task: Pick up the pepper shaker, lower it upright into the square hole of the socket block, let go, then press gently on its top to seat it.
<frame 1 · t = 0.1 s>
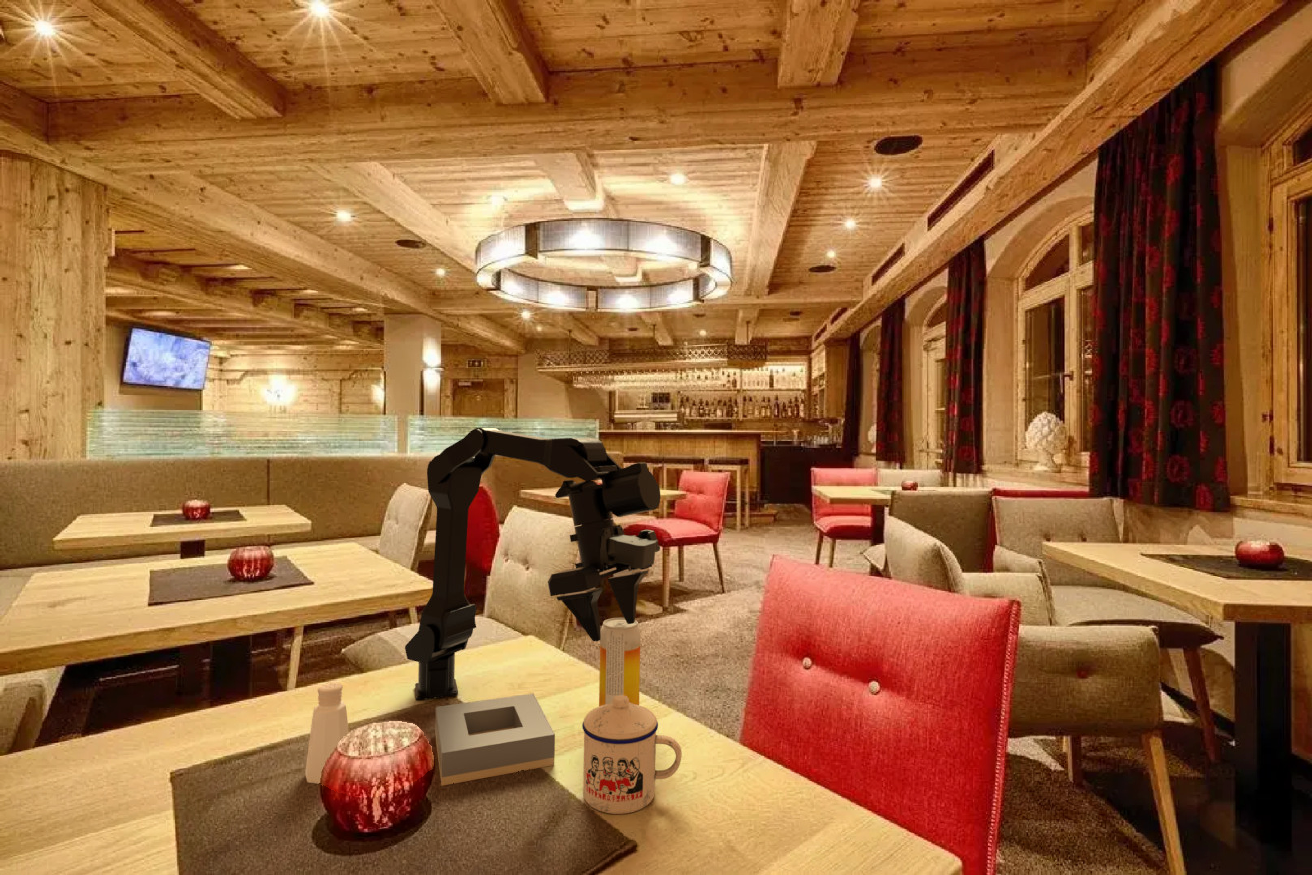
hand: (614, 631, 89), 15 cm above the table, tool pointing down, fingers open, 9 cm apart
pepper shaker: (328, 774, 79), on the table
beer can: (618, 722, 95), on the table
socket block: (492, 749, 86), on the table
teacup with lid: (630, 796, 75), on the table
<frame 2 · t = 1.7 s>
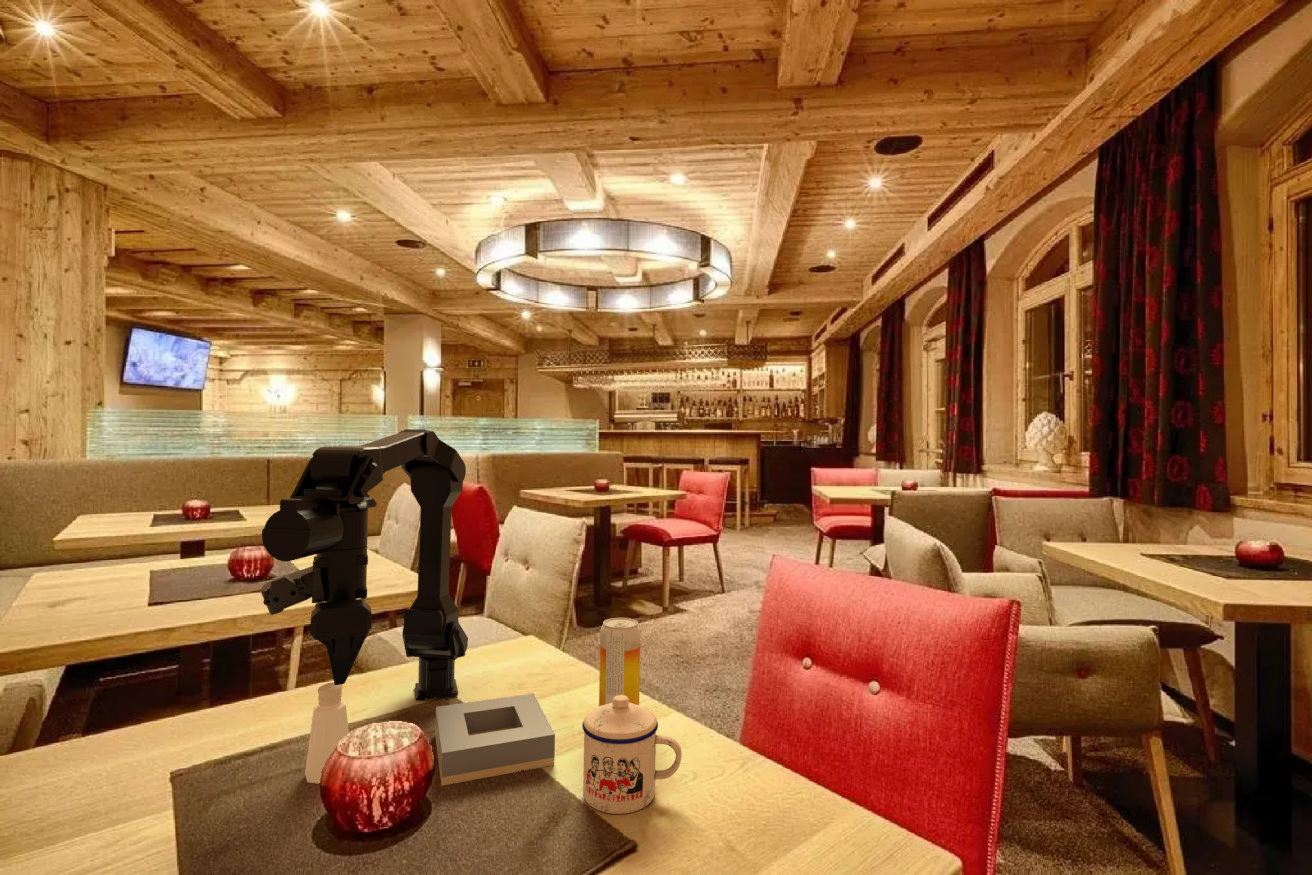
hand: (339, 671, 78), 13 cm above the table, tool pointing down, fingers open, 9 cm apart
nothing on the table moved.
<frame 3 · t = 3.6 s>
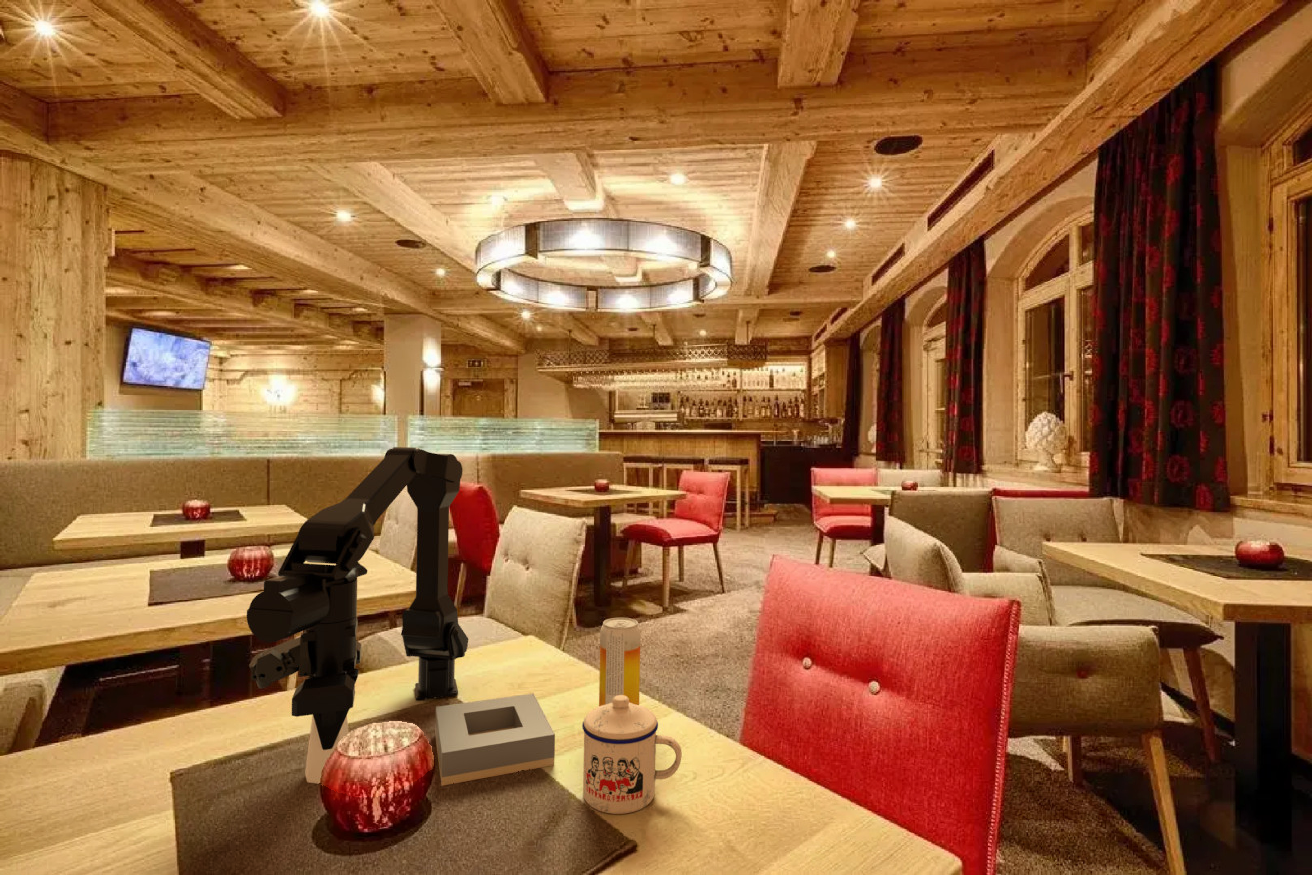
hand: (329, 741, 79), 4 cm above the table, tool pointing down, fingers closed on pepper shaker, 4 cm apart
pepper shaker: (328, 774, 79), on the table, touching gripper
everything else where it was.
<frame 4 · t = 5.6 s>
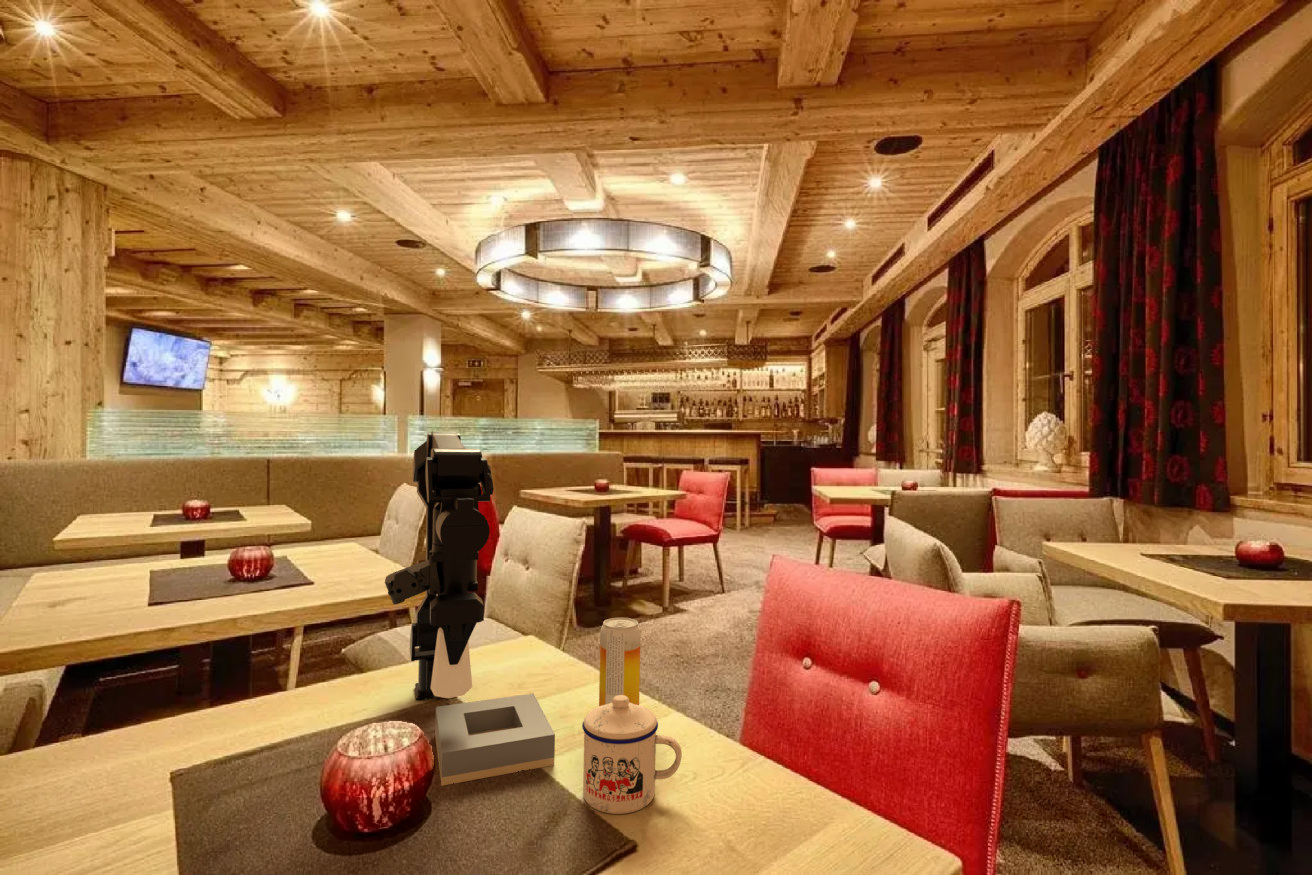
hand: (452, 658, 84), 13 cm above the table, tool pointing down, fingers closed on pepper shaker, 4 cm apart
pepper shaker: (451, 690, 84), point 9 cm above the table, touching gripper
everything else where it was.
when the fingers open (5 cm above the table, at t = 8.1 s): pepper shaker stays where it is, resting on socket block.
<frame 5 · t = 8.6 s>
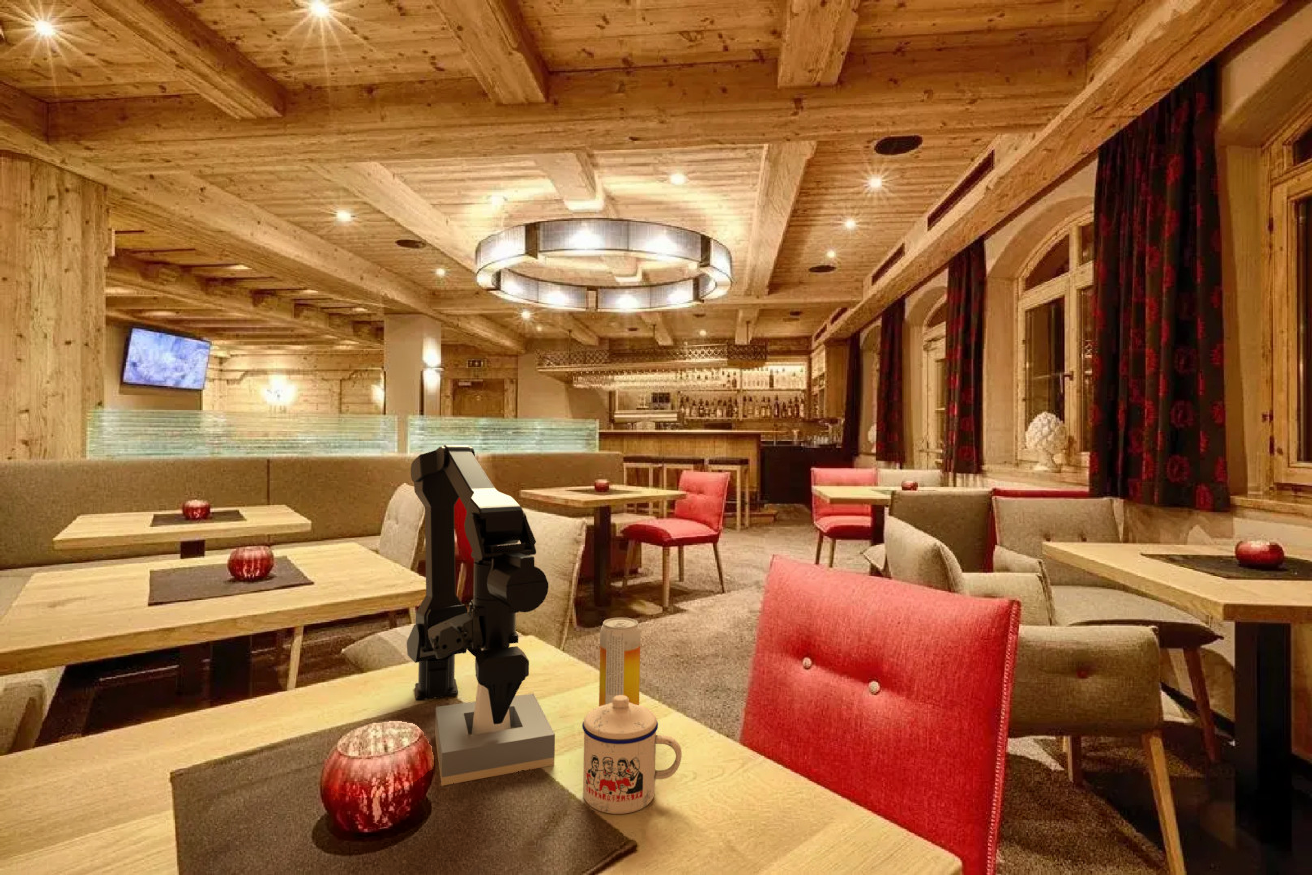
hand: (492, 708, 86), 5 cm above the table, tool pointing down, fingers open, 9 cm apart
pepper shaker: (491, 741, 86), point 1 cm above the table, touching socket block
everything else where it was.
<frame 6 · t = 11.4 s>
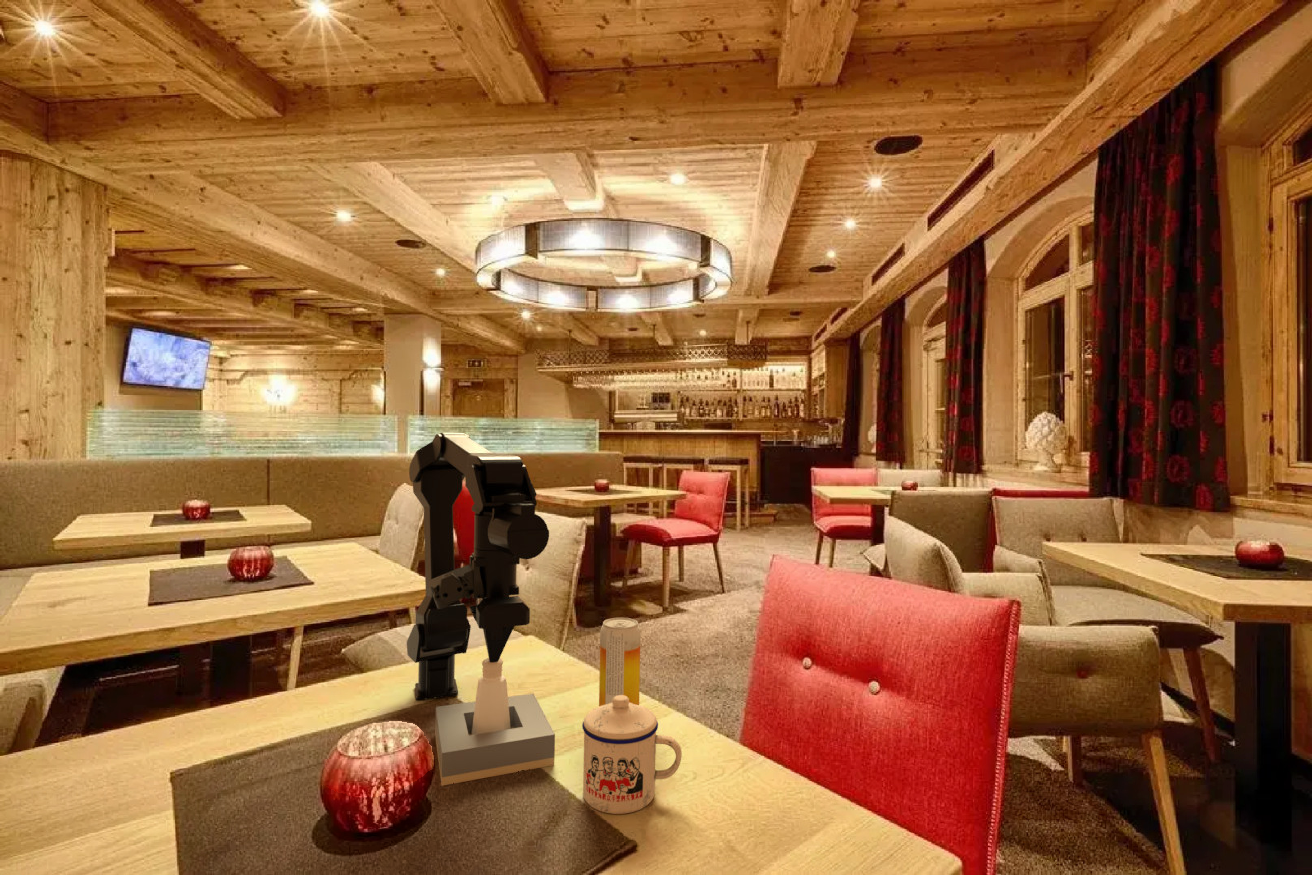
hand: (493, 661, 86), 12 cm above the table, tool pointing down, fingers closed, pressing on pepper shaker
pepper shaker: (491, 741, 86), point 1 cm above the table, touching gripper, socket block
everything else where it was.
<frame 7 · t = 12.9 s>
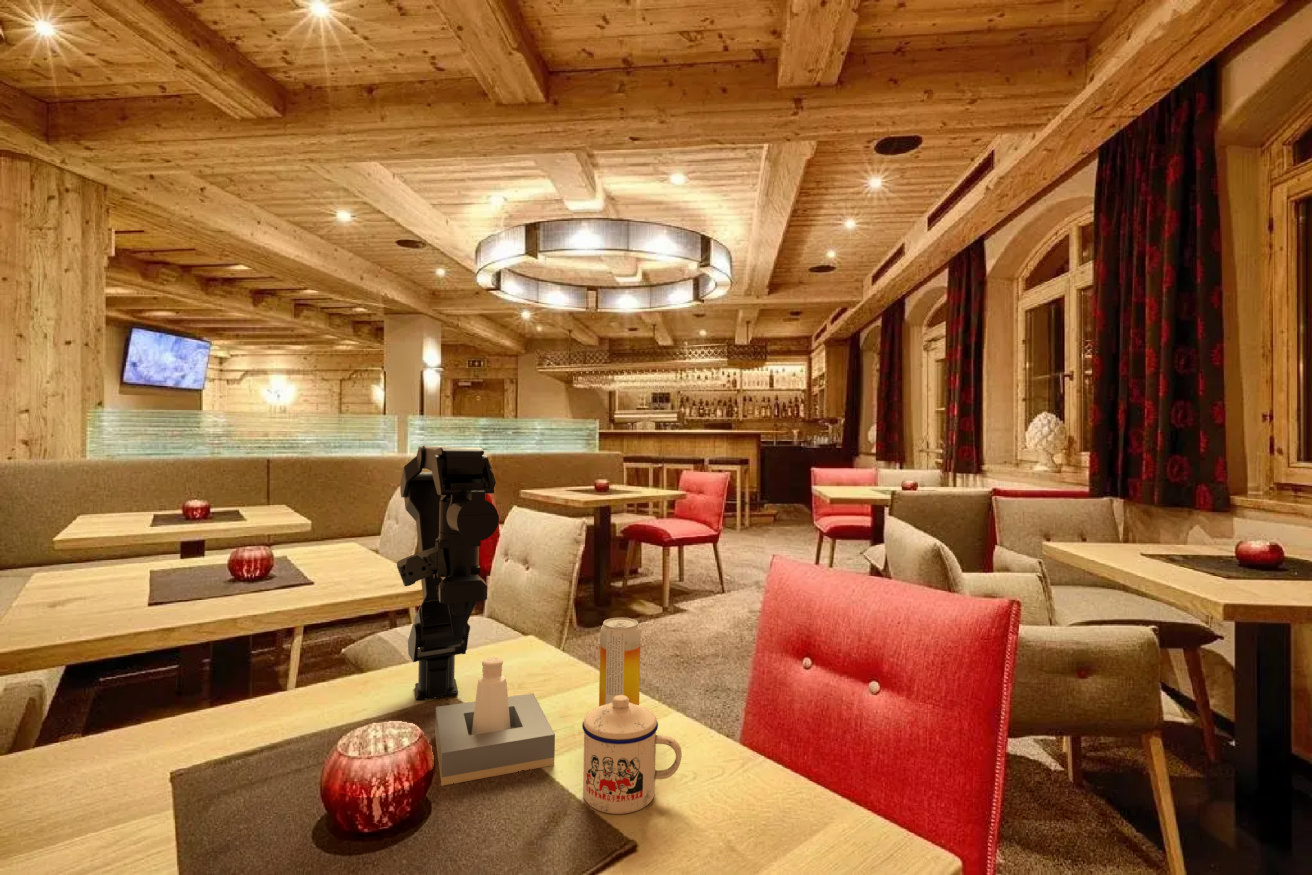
hand: (457, 635, 93), 13 cm above the table, tool pointing down, fingers closed
pepper shaker: (491, 741, 86), point 1 cm above the table, touching socket block
everything else where it was.
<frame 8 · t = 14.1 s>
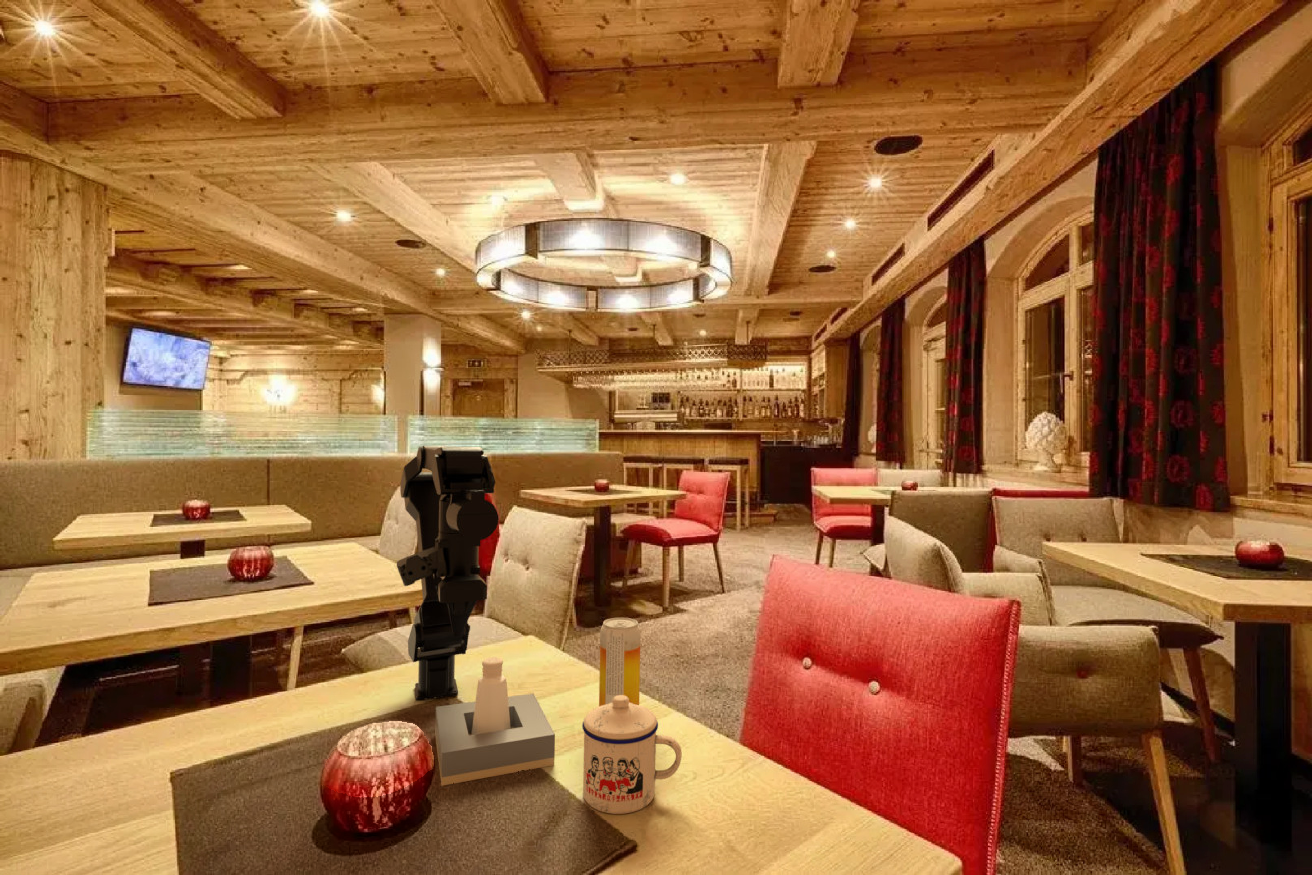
hand: (457, 635, 93), 13 cm above the table, tool pointing down, fingers closed
nothing on the table moved.
at the end: pepper shaker 0.7 cm off-centre on the socket block, point 0.8 cm above the socket block's base; pepper shaker tilted 0°; the gripper is holding nothing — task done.
